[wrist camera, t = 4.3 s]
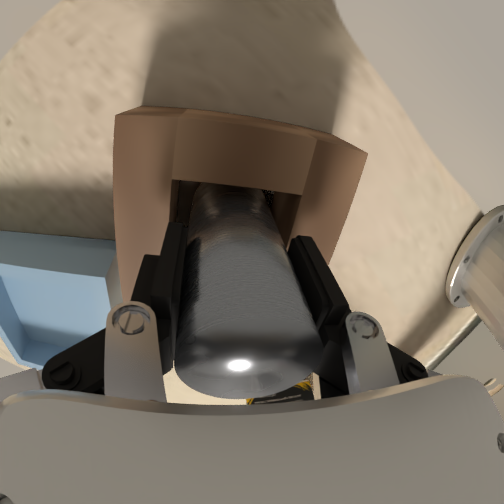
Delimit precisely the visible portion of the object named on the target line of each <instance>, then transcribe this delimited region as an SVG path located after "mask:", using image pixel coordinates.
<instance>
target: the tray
mask: <svg viewBox="0 0 504 504" xmlns="http://www.w3.org/2000/svg"><path fill="white" fill-rule="evenodd" d="M120 303H123V298H122V292H121V285H120V277H119V269H118V260H117V251H116V241H114V240H102V239H91V238H79V237H68V236H56V235H44V234H33V233H21V232H10V231H0V336H1V338H2V340H3V341H4V343H5V345H6V346H7V348H8V349H9V351H10V352H11V354H12V355H13V357H14V358H15V360H16V361H17V363H18V364H21V365H24V366H27V367H31V368H36V369H37V370H41V369H43V367H44V365H45V364H46V362H47V361H48V360H49V359H50V358H52V357H53V356H55V355H57V354H58V353H60V352H62V351H64V350H66V349H68V348H69V347H71V346H73V345H75V344H77V343H78V342H80V341H82V340H84V339H86V338H88V337H89V336H91V335H93V334H95V333H97V332H99V331H100V330H102V329H104V328H106V319H107V316H108V313H109V312H110V310H111V309H112V308H113V307H115V306H116V305H118V304H120Z"/></svg>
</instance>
